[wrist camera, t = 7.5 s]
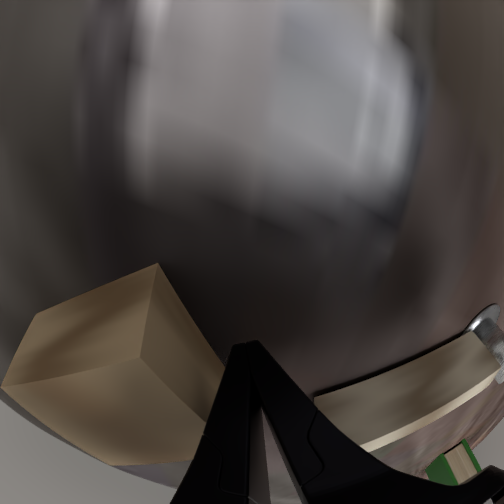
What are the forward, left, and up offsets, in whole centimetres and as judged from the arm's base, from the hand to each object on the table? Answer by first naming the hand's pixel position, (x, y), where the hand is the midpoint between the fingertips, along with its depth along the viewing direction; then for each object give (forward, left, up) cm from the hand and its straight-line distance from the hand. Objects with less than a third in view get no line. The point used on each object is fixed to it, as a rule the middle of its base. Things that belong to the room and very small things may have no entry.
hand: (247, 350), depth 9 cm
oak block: (+5, 0, -2) cm, 5 cm away
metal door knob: (-15, +7, -2) cm, 17 cm away
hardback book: (-38, +68, -2) cm, 78 cm away
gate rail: (-8, +7, -1) cm, 11 cm away
